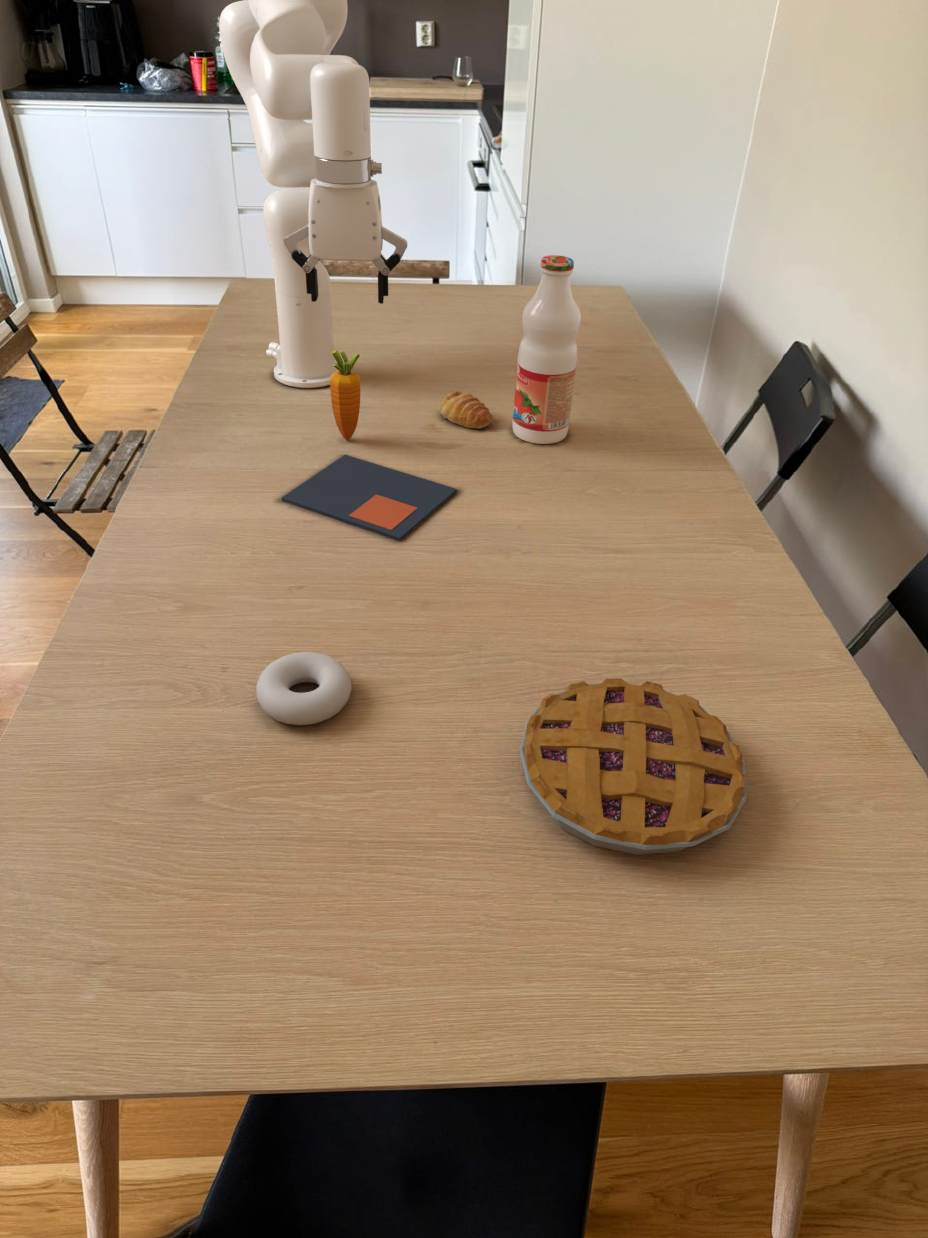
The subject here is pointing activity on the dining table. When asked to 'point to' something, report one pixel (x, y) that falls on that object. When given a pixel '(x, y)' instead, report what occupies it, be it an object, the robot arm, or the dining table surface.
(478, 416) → the pastry
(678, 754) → the pie
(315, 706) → the donut
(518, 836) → the dining table surface
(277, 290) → the robot arm
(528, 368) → the fruit juice
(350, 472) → the mat
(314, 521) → the dining table surface
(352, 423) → the carrot
